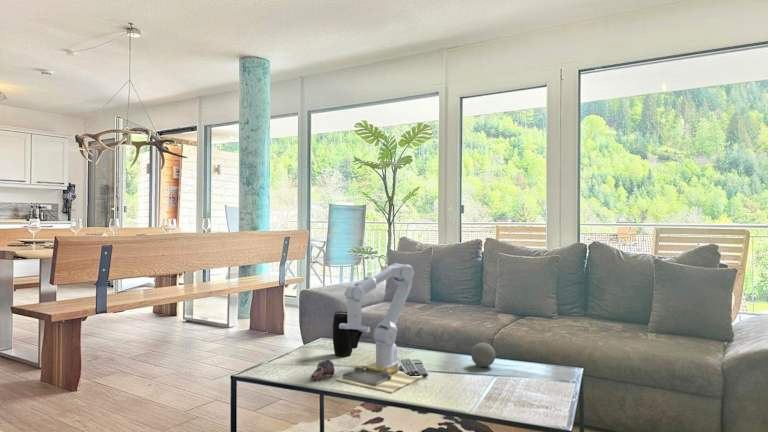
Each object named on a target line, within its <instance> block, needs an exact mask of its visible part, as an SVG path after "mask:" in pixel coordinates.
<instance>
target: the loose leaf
mask: <svg viewBox="0 0 768 432" xmlns="http://www.w3.org/2000/svg"><path fill="white" fill-rule="evenodd" d="M398 366H399V365H398V364H395V365H393V366H391V367H384V366H378V365H372V364H371V365H367V366H365V367H366V368H365V367H364V370H366V371H371V372H376V373H381V374H382V372H384V371H385V372H390V373H391V375H393V374H395V373H397V372H398V371H399V367H398Z"/></svg>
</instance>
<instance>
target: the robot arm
mask: <svg viewBox="0 0 768 432" xmlns="http://www.w3.org/2000/svg"><path fill="white" fill-rule="evenodd" d="M414 276H415V271H414V269H413V267H412V265H411V264H403V263H396V262H394V263H392V264H391V265H388V267H386V268H385V269H383V270H382V271H380V272H378V273H377V274H375V275H374V276H364V277H363V279H362V280H360V281H359V282H358V281H356V282H355V283H354V285H353V284H350V285H348V286H347V287H346V288H345V291H344V296H345V297H346V301H347V303H346V304H347V308H346V309H347V311H346V312H347V315H348V324H345V323H341V324H339V329H348V331H346V334H347V335H348V337H349V340H350V343H351V347H352V350H353V349H357V348H358V347H359V346H358V345H359V341H360V339H361V336H362V335H363V333H364V332H365V333H370V332H371V326H366V325H363V324H362V300H363V298H364V297H365V295H367V294H368V293H370V292H372V291H373V290H375V289H376V288H377V285H378V284H380V283H382V282H384V281H387V280H388V279H390V278H392V279H393V280H394V281H395V283H396V285H397V288H396V291H395V293H394V295H393V298H392V300H391V302H390V305H389V307H388V309H387V311H386V314H385V316H384V318H383V320H381V321H380V322H378V324H377V326H376V327H375V328H374V329H373V330H372V339H373V340H374V342H375V362H374V363H372V364H371V365H378V366H384V367H391V366H393V365H395V364H396V365H398V364H399V363H400V362H399V361H398V347H397V346H398V345H397V344H396V343H395V342H396V340H397V334H398V328H397V322H398V320H399V317H400V316H401V313H402V310H403V309H404V307H405V303H406V302H407V299H408V296H409V294H410V292H411V290H412V287H413V286H412V284H413V283H412V282H413V278H414Z"/></svg>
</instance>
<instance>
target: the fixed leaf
mask: <svg viewBox="0 0 768 432" xmlns="http://www.w3.org/2000/svg"><path fill="white" fill-rule="evenodd" d="M364 368H365V367H364V366H355V367H354V370H352V371H350V372H347V373H345V374H343V375H342V376H341V377H342V378H343V379H348V380H352V381H357V382H361V383H366V384H370V385H375V386H377V385H379V384H381V383H383V382H385V381H387V380H390V379H391V378H392V376H391V373H390V372H385V371H384V372H382V374H381V373H376V372H371V371H366V370H364Z"/></svg>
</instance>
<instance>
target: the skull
mask: <svg viewBox="0 0 768 432" xmlns="http://www.w3.org/2000/svg"><path fill="white" fill-rule="evenodd" d="M334 365H335V364H334V363H333V362H332V361H331V359H326V360H323V361H319V362H318V363H317V365H316V369H315V370H314V371H313V372H312V374H311V376H310V380H316V382H318V381H323V380H325V379H328V378H330V377H333V376H334V374H335V366H334Z"/></svg>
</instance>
